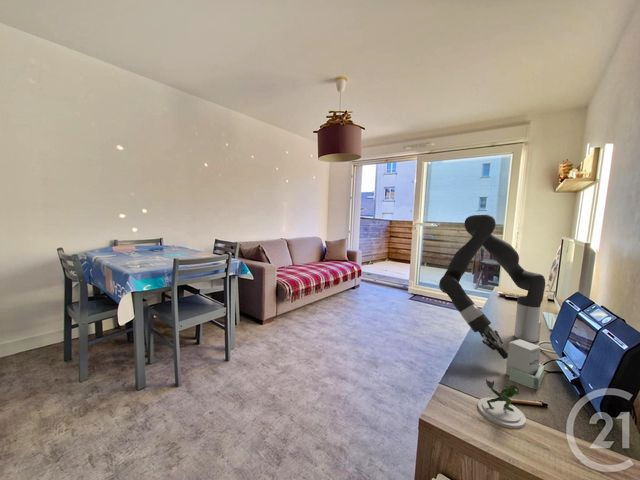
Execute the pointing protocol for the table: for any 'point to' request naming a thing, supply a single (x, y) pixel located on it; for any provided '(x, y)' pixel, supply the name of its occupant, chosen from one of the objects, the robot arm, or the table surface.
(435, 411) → the table surface
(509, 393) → the monster figurine
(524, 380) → the holder
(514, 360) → the supplement box
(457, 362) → the table surface
